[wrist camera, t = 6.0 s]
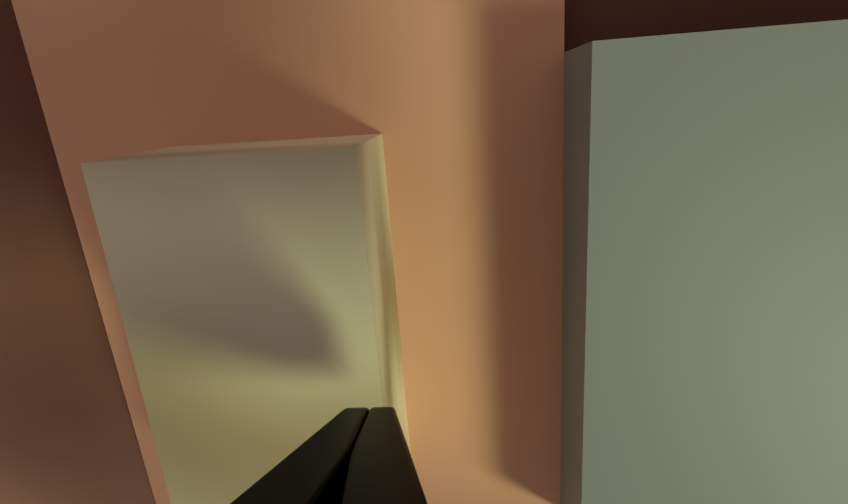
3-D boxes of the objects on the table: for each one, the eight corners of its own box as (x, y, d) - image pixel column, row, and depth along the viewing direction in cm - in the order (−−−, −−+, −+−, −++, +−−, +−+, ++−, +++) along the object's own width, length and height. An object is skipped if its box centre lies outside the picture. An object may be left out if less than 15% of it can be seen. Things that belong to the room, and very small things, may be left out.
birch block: (184, 554, 12) (239, 463, 14) (398, 556, 11) (411, 462, 14) (80, 163, 9) (172, 146, 12) (355, 146, 9) (382, 133, 11)
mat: (556, 617, 16) (559, 636, 16) (201, 611, 17) (192, 629, 17) (560, -223, 10) (566, -242, 9) (-10, -148, 11) (-36, -162, 10)
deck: (926, 489, 14) (1047, 592, 11) (556, 491, 15) (579, 587, 12) (1055, 13, 10) (1285, -18, 7) (558, 54, 11) (592, 40, 8)
